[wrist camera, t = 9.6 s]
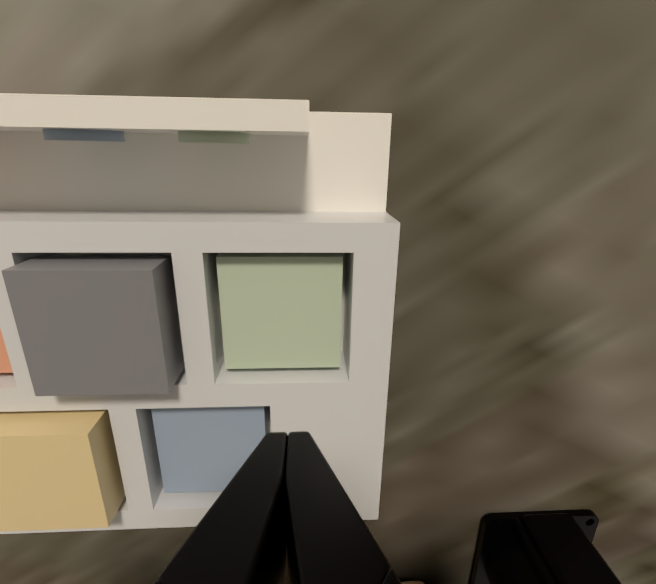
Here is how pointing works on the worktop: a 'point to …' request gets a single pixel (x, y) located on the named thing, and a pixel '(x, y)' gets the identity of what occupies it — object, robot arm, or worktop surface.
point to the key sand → (58, 470)
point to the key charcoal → (97, 323)
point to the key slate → (206, 444)
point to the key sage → (280, 309)
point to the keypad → (210, 259)
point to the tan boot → (412, 582)
